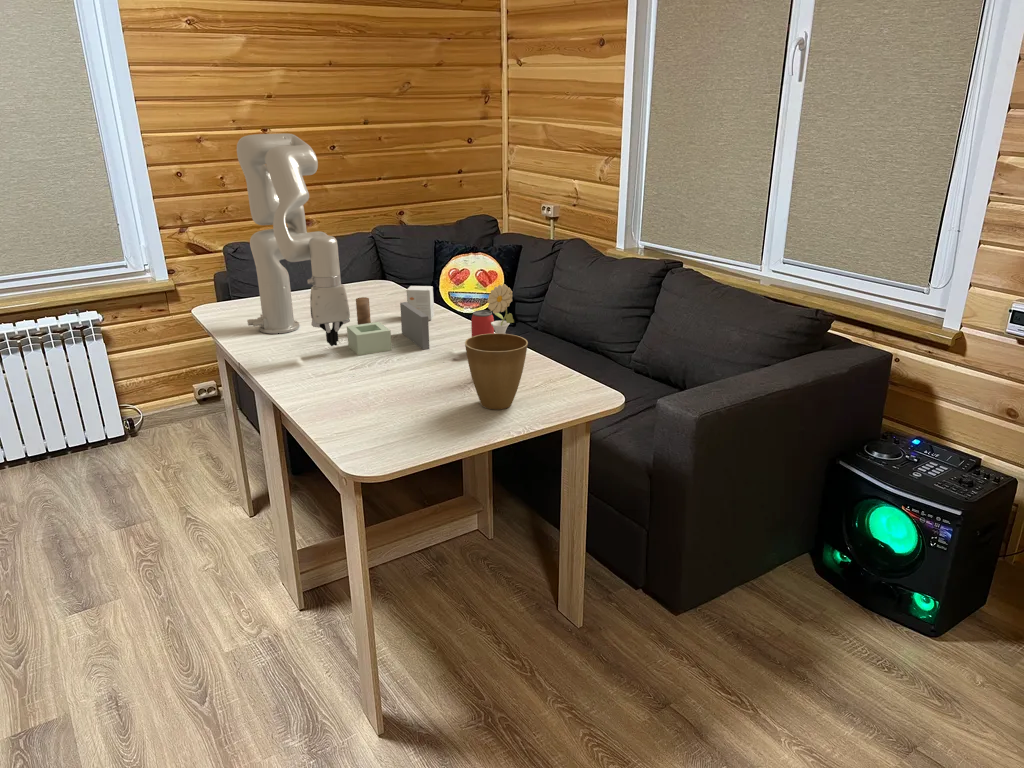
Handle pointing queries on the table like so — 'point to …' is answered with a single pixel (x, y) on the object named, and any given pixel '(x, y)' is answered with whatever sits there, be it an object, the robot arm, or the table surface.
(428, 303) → the small box
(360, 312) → the walnut dowel
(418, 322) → the board
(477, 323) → the beer can
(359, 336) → the sage block
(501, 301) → the flower in vase
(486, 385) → the plant pot
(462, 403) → the table surface
